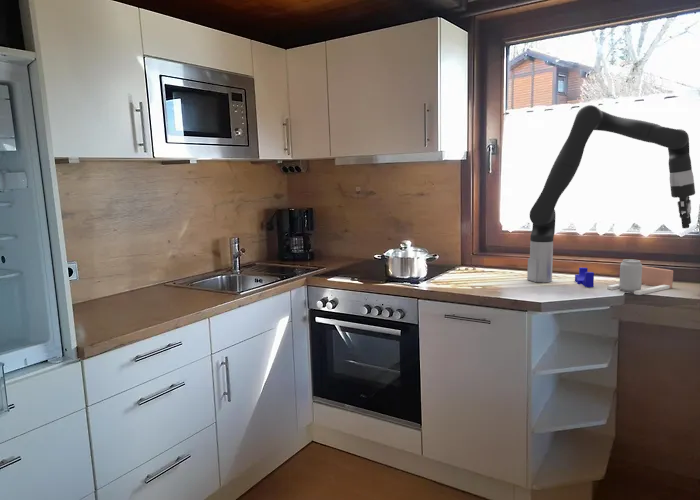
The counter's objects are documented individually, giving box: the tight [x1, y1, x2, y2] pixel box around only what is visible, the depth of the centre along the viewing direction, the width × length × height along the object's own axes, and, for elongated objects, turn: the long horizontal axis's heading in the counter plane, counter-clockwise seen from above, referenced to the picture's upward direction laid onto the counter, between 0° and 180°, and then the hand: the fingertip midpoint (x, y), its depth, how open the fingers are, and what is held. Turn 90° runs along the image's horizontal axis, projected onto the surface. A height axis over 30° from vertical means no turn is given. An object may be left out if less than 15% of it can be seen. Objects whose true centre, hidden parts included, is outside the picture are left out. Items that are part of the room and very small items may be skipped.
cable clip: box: [574, 267, 595, 288], centre depth 216 cm, size 12×4×6 cm, turn 169°
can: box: [618, 258, 643, 293], centre depth 202 cm, size 8×8×12 cm
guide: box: [606, 265, 674, 296], centre depth 205 cm, size 22×13×7 cm, turn 120°
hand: (686, 225), depth 195 cm, fingers open, 8 cm apart
